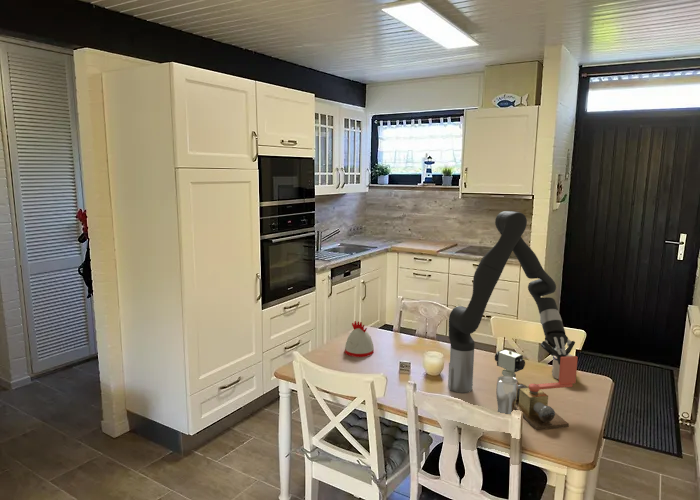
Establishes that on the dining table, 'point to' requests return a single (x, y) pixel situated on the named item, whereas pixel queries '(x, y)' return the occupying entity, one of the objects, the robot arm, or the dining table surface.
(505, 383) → the grey vase
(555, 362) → the teacup with lid
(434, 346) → the dining table surface
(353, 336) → the grey beanie hat
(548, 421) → the valve body
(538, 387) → the lever
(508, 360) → the pneumatic valve
